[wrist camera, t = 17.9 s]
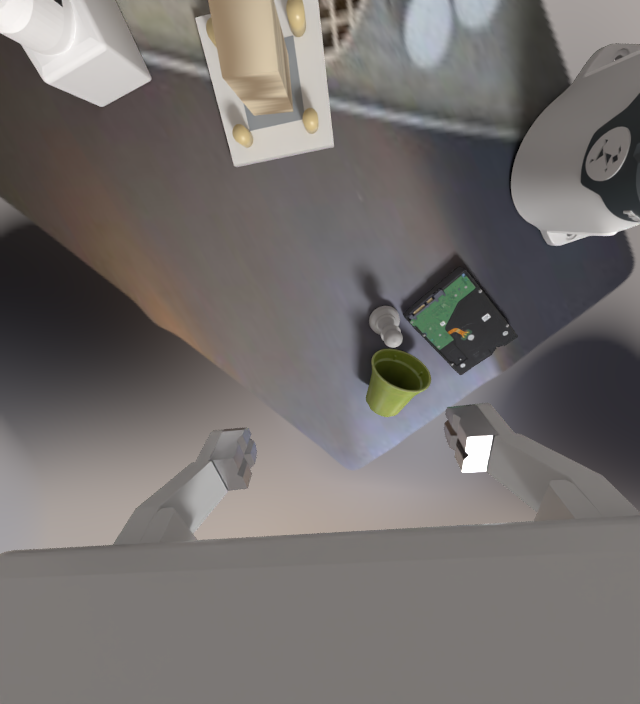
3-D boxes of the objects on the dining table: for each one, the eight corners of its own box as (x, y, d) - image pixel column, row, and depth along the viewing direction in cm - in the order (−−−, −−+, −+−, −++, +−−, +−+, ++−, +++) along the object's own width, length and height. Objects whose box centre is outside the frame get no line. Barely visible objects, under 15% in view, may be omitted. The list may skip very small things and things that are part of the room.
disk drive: (509, 328, 43) (457, 264, 38) (520, 335, 40) (466, 268, 35) (454, 367, 46) (400, 314, 42) (461, 376, 44) (405, 321, 39)
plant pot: (364, 375, 50) (378, 341, 45) (411, 395, 49) (433, 362, 43) (349, 410, 44) (365, 374, 38) (404, 435, 42) (429, 401, 36)
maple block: (288, 54, 27) (268, -19, 18) (293, 111, 29) (278, 70, 20) (245, 59, 27) (206, -11, 18) (253, 115, 29) (222, 77, 20)
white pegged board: (316, -7, 25) (315, -38, 22) (333, 147, 31) (334, 140, 28) (200, 25, 27) (182, 0, 23) (237, 167, 32) (227, 162, 29)
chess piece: (376, 337, 43) (385, 363, 36) (363, 314, 41) (371, 336, 34) (403, 324, 42) (418, 348, 35) (391, 299, 40) (405, 319, 33)
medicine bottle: (53, 21, 27) (-123, -96, 16) (109, -15, 26) (-43, -168, 15) (102, 109, 30) (-19, 57, 20) (154, 80, 29) (55, 9, 18)
